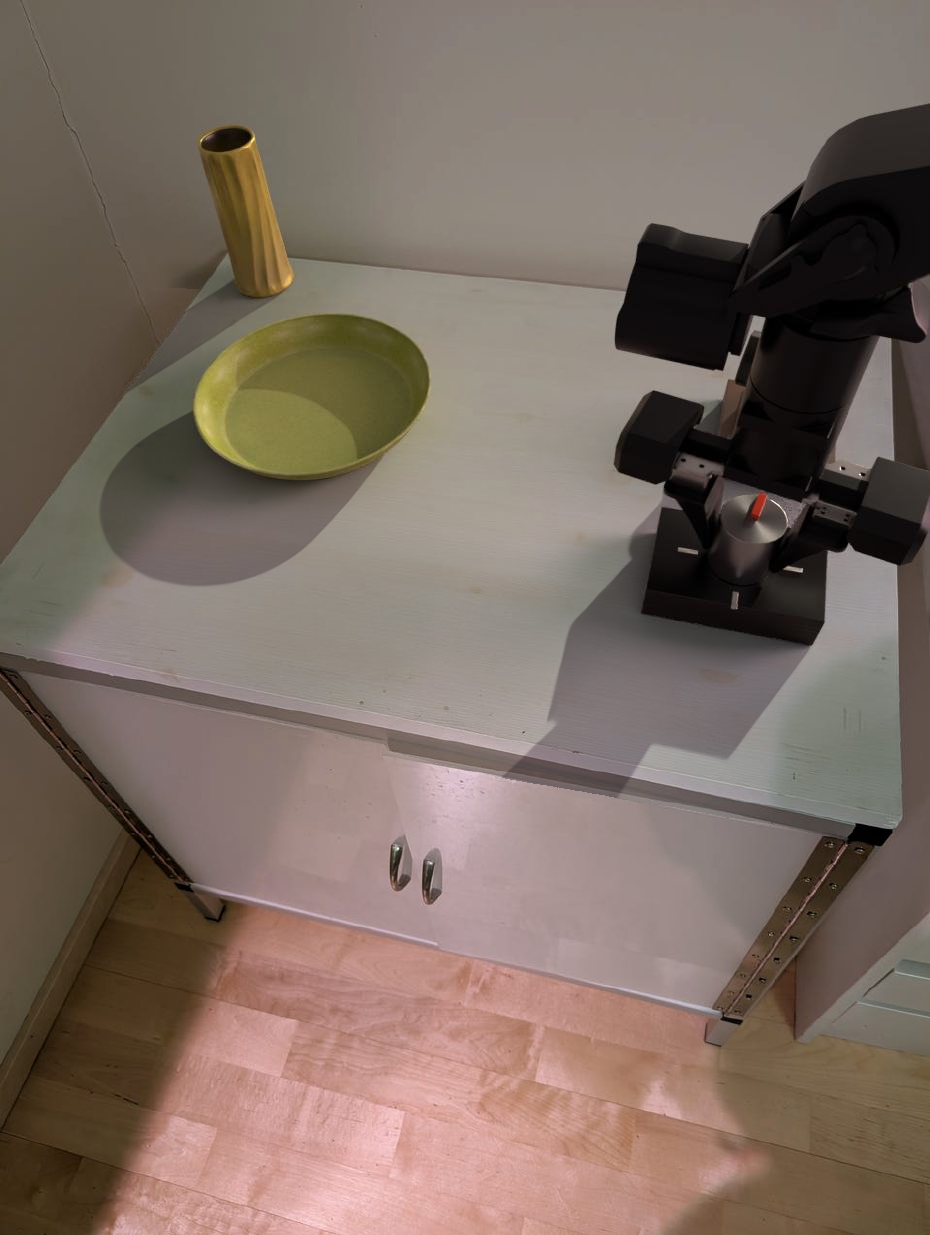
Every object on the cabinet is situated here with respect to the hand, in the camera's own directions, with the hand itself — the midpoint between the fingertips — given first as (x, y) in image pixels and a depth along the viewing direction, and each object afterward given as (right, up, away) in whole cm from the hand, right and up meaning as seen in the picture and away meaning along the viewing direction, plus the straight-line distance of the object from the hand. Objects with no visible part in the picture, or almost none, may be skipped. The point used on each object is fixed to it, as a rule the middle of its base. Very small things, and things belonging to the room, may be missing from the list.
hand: (740, 556), depth 59 cm
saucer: (-33, +14, +16) cm, 39 cm away
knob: (0, 0, 0) cm, 0 cm away
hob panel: (0, -2, +3) cm, 4 cm away
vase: (-40, +31, +28) cm, 58 cm away
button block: (+6, +10, +11) cm, 16 cm away
